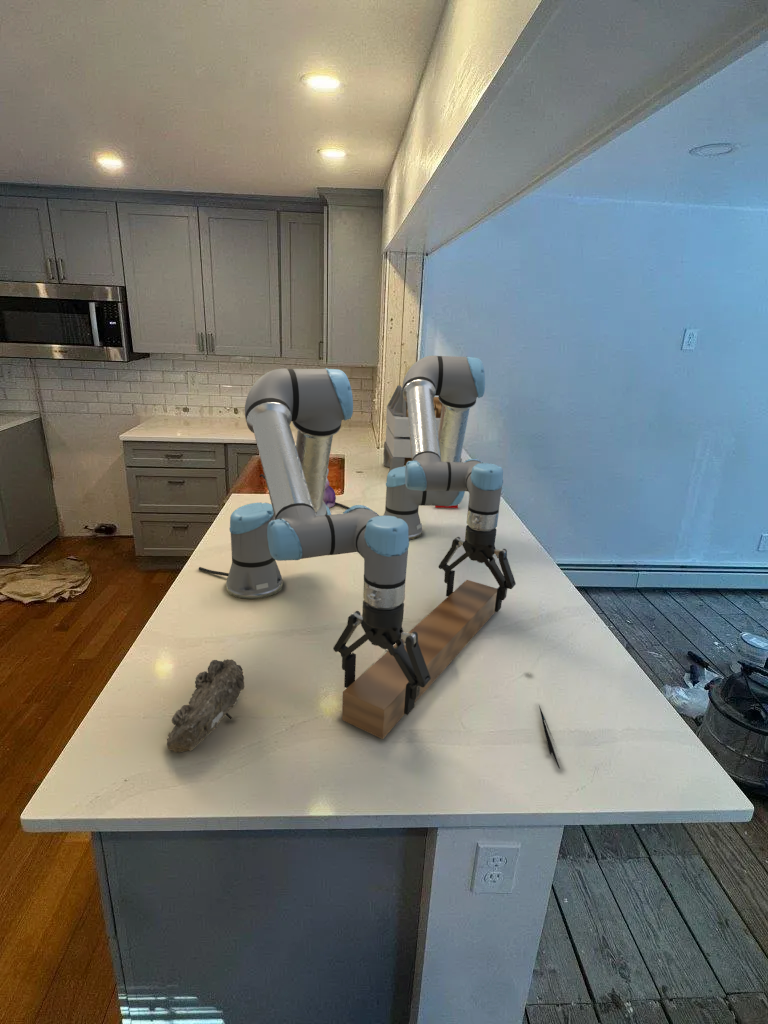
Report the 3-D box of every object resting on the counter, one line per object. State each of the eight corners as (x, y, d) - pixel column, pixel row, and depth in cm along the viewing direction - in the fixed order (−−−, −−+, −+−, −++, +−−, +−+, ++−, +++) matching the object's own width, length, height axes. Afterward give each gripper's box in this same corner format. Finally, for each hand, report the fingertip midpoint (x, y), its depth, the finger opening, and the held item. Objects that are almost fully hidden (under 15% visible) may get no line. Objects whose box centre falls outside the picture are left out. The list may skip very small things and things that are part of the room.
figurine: (318, 511, 218) (318, 473, 213) (309, 502, 226) (309, 466, 221) (341, 508, 222) (341, 471, 217) (331, 500, 231) (331, 464, 226)
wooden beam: (464, 601, 156) (466, 579, 153) (496, 610, 151) (499, 588, 149) (341, 720, 109) (342, 691, 107) (382, 739, 104) (384, 710, 102)
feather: (529, 679, 125) (535, 673, 125) (559, 773, 99) (566, 766, 98) (523, 675, 125) (528, 669, 125) (551, 768, 98) (558, 761, 98)
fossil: (192, 660, 117) (244, 628, 112) (224, 691, 120) (276, 661, 115) (142, 746, 98) (202, 712, 93) (182, 779, 101) (242, 748, 96)
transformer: (382, 463, 289) (386, 382, 275) (445, 464, 293) (451, 384, 279) (390, 482, 257) (394, 392, 243) (460, 483, 261) (468, 394, 247)
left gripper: (316, 589, 106) (315, 683, 113) (436, 631, 94) (426, 734, 101) (339, 574, 112) (337, 665, 119) (455, 612, 100) (445, 711, 107)
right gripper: (429, 519, 143) (424, 593, 151) (525, 543, 131) (514, 622, 139) (442, 511, 149) (436, 583, 157) (535, 533, 138) (524, 610, 145)
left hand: (378, 697), depth 110 cm, fingers open, 13 cm apart
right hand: (473, 601), depth 148 cm, fingers open, 13 cm apart
